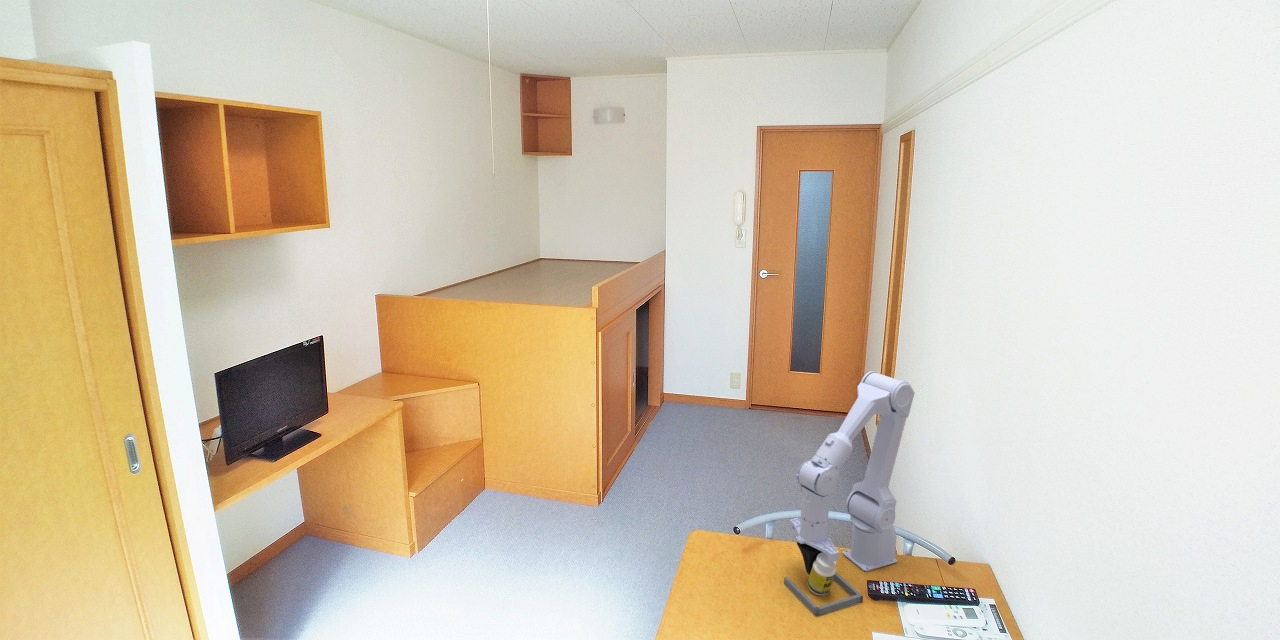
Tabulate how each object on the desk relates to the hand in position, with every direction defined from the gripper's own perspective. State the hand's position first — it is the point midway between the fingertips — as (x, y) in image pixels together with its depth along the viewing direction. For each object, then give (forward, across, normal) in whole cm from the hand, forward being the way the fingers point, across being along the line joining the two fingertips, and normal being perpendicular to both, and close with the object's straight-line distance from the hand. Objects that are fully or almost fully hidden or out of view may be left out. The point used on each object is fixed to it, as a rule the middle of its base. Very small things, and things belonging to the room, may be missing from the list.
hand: (811, 572), depth 139 cm
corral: (+2, +4, 0) cm, 4 cm away
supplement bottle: (+2, +2, 0) cm, 3 cm away
